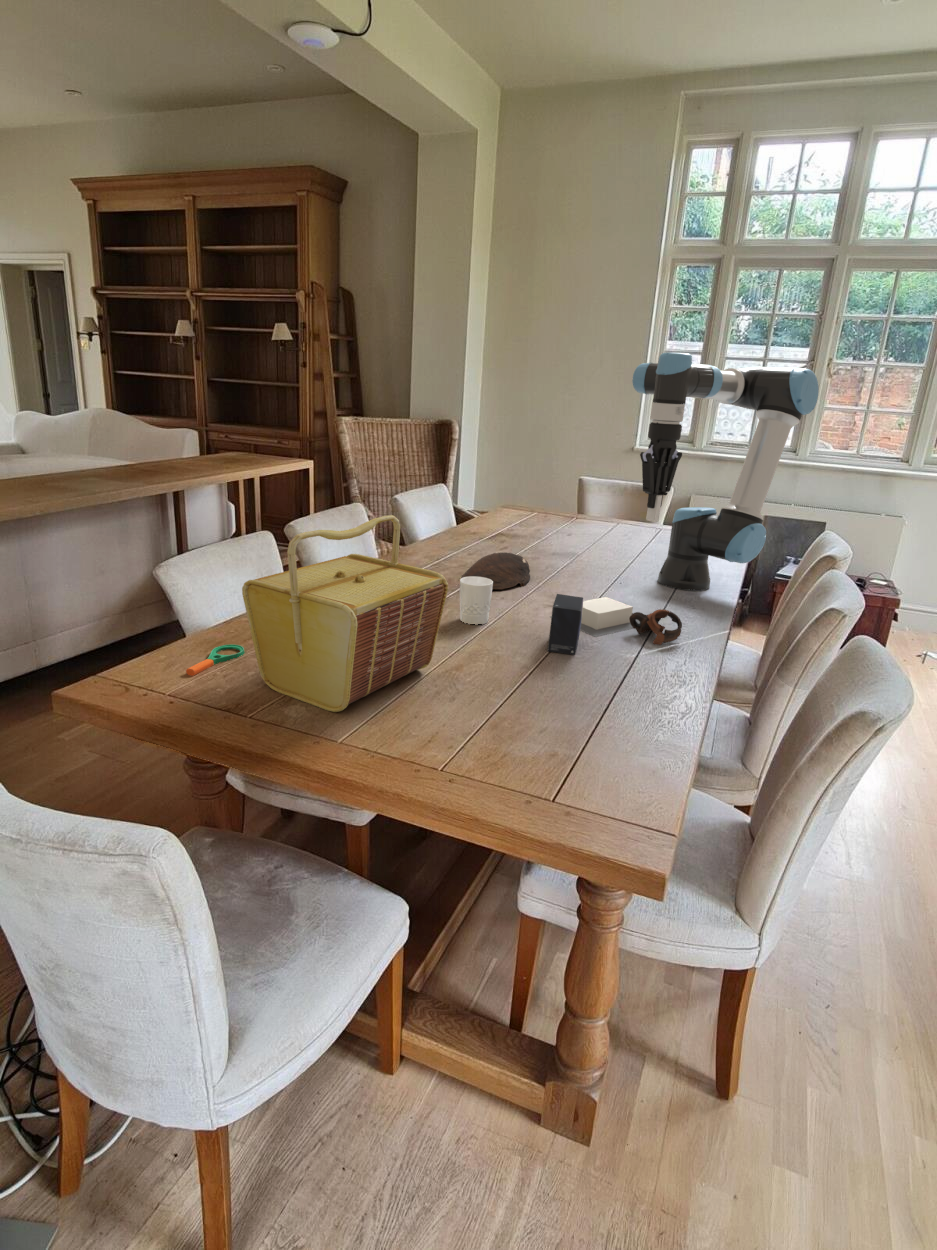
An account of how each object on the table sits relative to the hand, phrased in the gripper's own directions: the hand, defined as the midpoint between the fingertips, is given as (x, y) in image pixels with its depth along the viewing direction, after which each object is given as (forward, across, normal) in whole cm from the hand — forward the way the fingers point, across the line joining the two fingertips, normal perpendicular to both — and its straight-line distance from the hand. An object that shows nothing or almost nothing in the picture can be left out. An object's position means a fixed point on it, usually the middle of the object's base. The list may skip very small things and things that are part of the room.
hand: (652, 520), depth 176 cm
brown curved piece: (+25, -12, -15) cm, 31 cm away
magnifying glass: (+25, -103, +18) cm, 107 cm away
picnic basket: (+24, -84, -2) cm, 88 cm away
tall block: (+22, -8, 0) cm, 23 cm away
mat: (+24, -13, 0) cm, 28 cm away
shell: (+25, -13, +43) cm, 52 cm away
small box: (+24, -34, -8) cm, 43 cm away
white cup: (+24, -42, +15) cm, 51 cm away
